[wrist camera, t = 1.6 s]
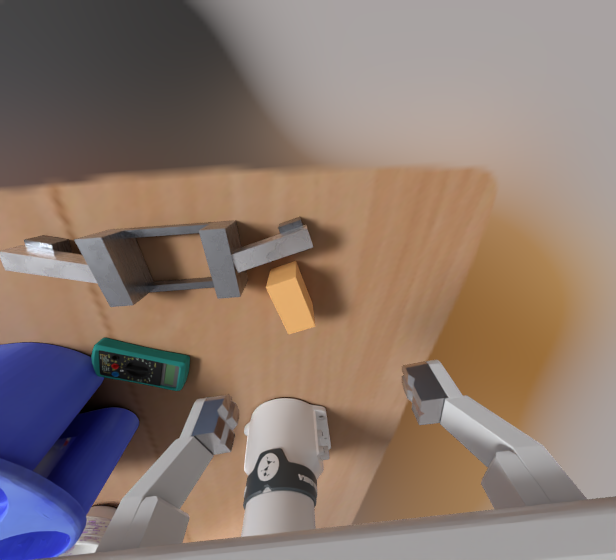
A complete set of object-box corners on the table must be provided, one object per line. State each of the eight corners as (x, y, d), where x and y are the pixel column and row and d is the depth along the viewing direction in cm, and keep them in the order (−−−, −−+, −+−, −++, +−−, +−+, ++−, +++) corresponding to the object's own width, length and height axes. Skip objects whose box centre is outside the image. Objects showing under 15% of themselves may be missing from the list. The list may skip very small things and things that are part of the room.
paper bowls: (143, 519, 66) (124, 561, 59) (94, 525, 66) (69, 568, 59) (117, 496, 59) (93, 540, 52) (63, 503, 59) (31, 548, 52)
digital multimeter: (101, 333, 37) (86, 346, 34) (192, 353, 39) (185, 366, 37) (103, 364, 40) (89, 377, 37) (187, 380, 42) (180, 394, 40)
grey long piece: (309, 215, 29) (312, 222, 25) (313, 275, 33) (315, 290, 29) (32, 235, 29) (-17, 246, 24) (69, 294, 33) (32, 312, 28)
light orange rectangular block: (312, 303, 36) (315, 326, 30) (289, 310, 36) (288, 334, 31) (295, 260, 32) (295, 277, 27) (270, 268, 33) (265, 287, 27)
